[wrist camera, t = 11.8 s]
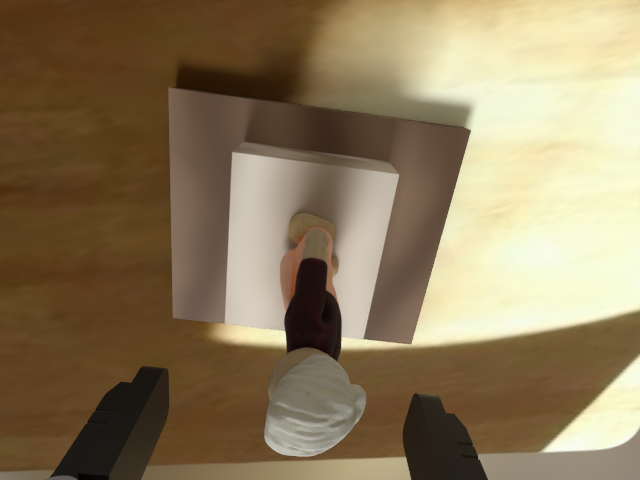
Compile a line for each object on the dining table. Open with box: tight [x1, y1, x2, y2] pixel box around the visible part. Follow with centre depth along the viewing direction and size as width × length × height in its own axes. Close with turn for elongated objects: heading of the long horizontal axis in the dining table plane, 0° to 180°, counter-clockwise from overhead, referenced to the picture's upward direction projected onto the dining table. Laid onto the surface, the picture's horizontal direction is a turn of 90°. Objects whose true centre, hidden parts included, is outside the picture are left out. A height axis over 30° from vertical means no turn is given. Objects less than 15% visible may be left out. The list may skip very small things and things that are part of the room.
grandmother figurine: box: [264, 213, 366, 456], centre depth 17 cm, size 8×4×13 cm, turn 13°
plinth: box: [168, 87, 471, 344], centre depth 25 cm, size 18×16×5 cm
